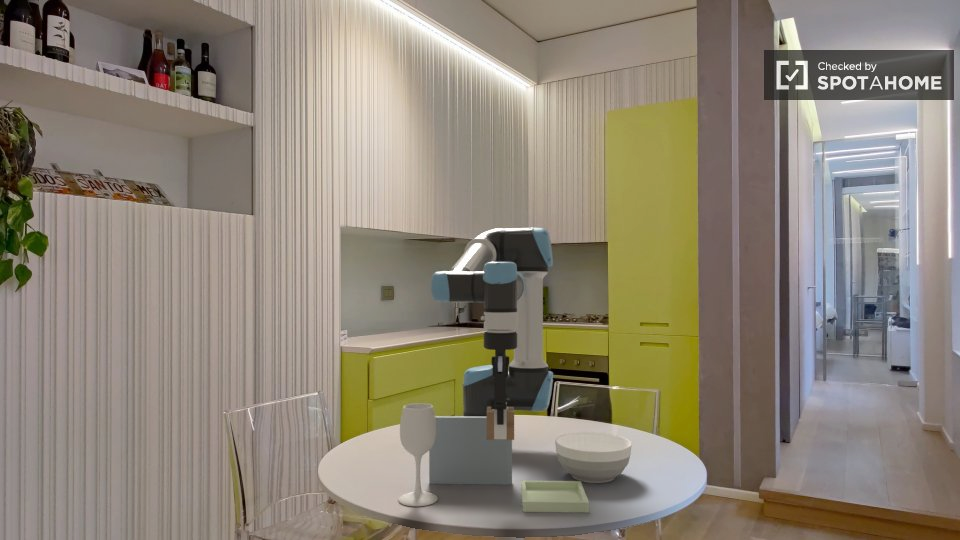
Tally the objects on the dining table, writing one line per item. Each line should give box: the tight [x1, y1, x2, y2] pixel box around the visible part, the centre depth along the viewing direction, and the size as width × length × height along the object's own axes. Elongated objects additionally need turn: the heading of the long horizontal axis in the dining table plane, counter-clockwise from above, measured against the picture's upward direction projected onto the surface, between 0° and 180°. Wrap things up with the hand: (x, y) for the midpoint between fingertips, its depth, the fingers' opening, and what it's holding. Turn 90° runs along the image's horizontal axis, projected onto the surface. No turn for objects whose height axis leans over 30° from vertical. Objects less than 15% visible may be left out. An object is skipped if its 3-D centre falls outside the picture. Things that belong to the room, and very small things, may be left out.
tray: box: [520, 480, 590, 514], centre depth 140 cm, size 14×14×2 cm
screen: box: [428, 415, 513, 486], centre depth 151 cm, size 20×2×16 cm, turn 88°
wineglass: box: [398, 402, 438, 507], centre depth 140 cm, size 9×9×21 cm
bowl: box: [554, 431, 632, 484], centre depth 157 cm, size 19×19×9 cm
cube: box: [487, 407, 515, 441], centre depth 139 cm, size 6×6×6 cm
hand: (500, 434), depth 139 cm, fingers closed on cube, 6 cm apart
